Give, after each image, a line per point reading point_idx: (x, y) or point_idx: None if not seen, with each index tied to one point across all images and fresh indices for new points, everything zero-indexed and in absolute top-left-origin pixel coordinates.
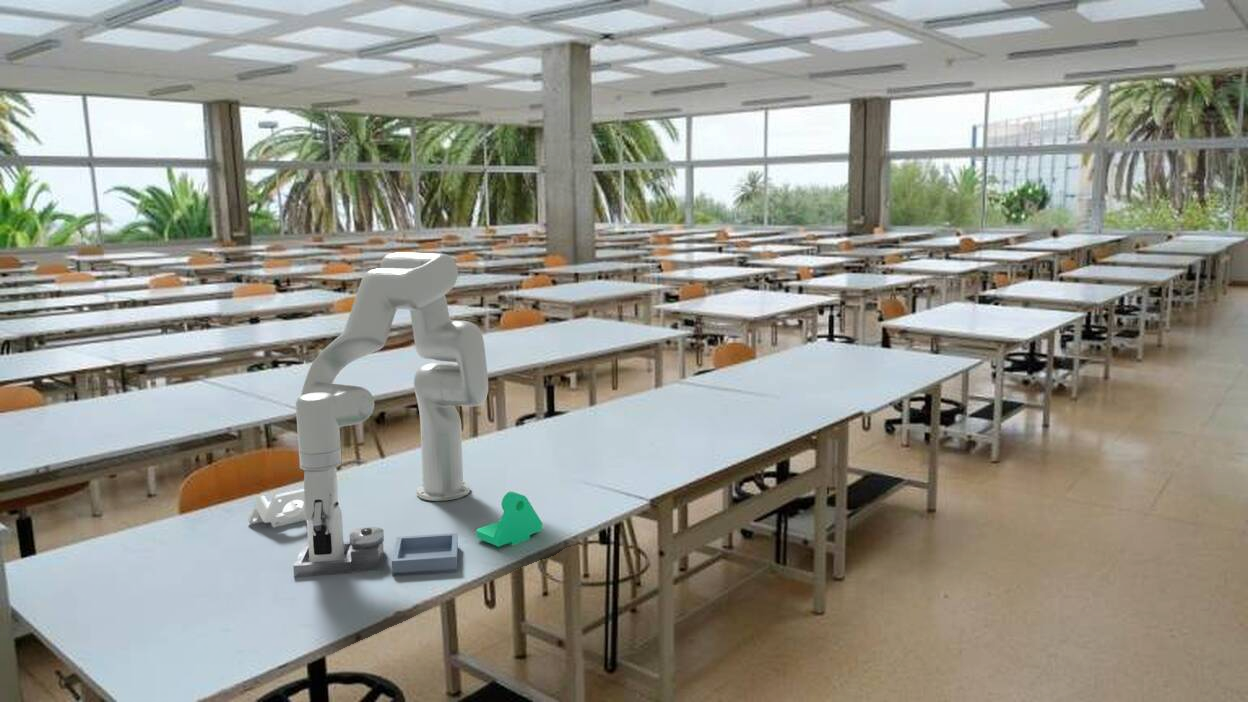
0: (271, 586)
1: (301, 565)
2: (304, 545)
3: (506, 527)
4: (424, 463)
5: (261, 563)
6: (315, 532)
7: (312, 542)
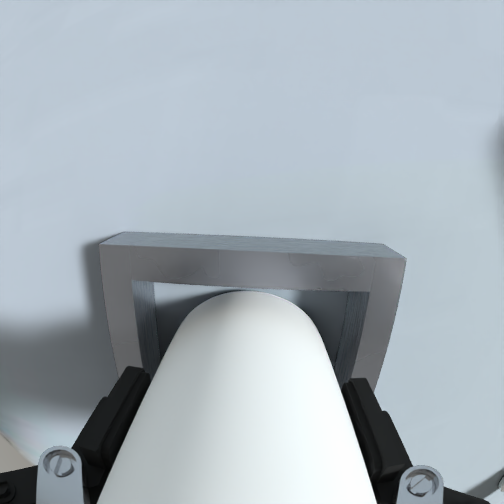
0: (58, 155)
1: (103, 284)
2: (390, 265)
3: None
4: None
5: (323, 52)
6: (17, 471)
7: (149, 396)
